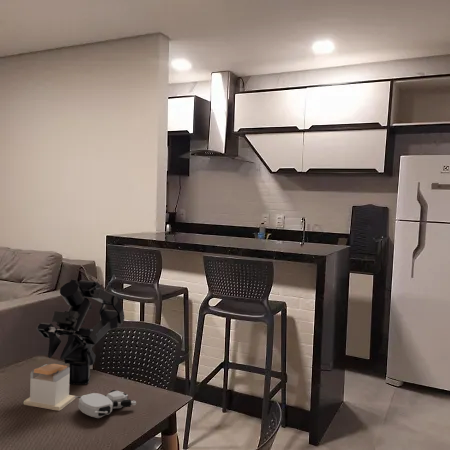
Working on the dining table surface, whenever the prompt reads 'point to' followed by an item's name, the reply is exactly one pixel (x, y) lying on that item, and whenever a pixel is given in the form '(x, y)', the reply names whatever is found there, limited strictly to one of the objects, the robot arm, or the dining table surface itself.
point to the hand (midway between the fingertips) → (55, 358)
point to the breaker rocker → (50, 369)
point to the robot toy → (103, 403)
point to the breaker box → (50, 390)
